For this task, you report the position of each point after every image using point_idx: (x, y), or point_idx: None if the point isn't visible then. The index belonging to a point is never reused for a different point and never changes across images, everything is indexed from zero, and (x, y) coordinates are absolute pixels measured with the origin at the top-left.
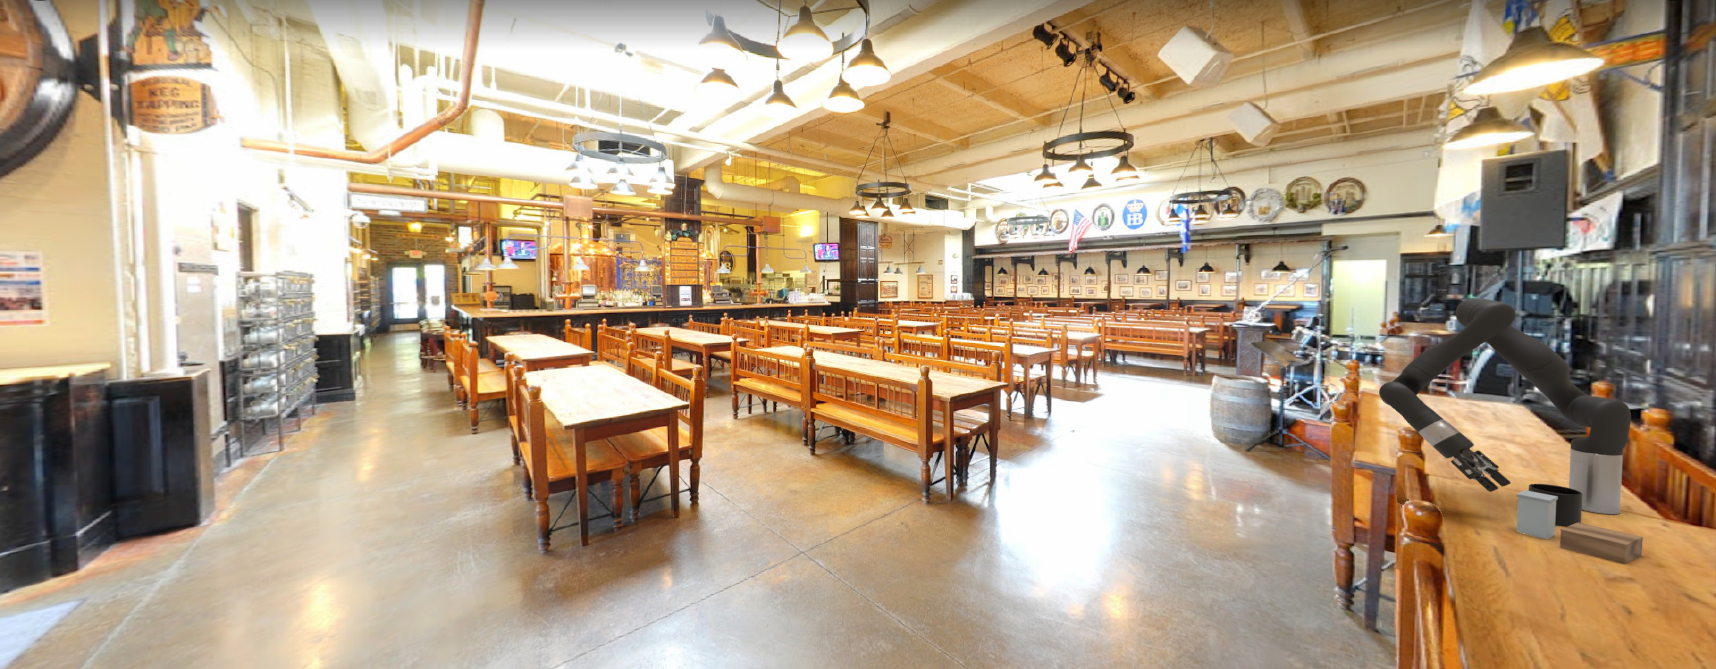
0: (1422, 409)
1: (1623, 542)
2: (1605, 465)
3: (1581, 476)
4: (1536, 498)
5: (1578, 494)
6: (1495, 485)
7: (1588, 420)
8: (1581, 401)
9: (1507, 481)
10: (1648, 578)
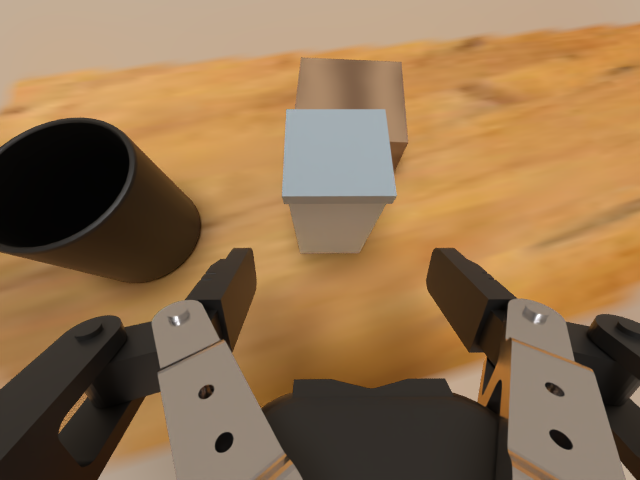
0: None
1: (387, 66)
2: None
3: None
4: (388, 142)
5: (95, 120)
6: (455, 253)
7: None
8: None
9: (247, 256)
10: (435, 77)
